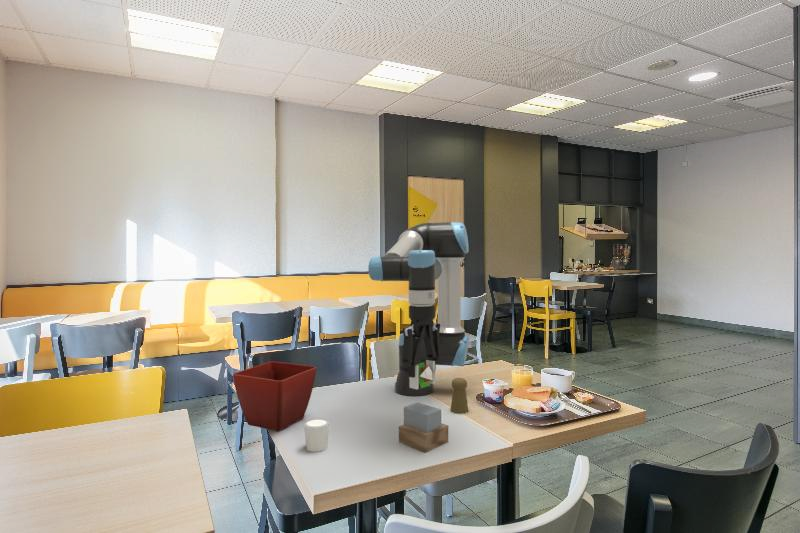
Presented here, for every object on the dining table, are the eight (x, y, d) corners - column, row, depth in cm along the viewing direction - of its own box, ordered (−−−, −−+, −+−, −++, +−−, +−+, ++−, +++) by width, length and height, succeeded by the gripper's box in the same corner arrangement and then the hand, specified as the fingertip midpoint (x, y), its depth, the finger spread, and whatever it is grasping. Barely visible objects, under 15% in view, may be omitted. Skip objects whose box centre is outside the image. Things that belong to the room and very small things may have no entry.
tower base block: (422, 433, 144) (421, 417, 144) (448, 442, 137) (448, 425, 137) (398, 443, 137) (398, 426, 137) (425, 453, 130) (425, 435, 130)
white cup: (302, 444, 136) (302, 420, 135) (326, 441, 138) (326, 417, 138) (306, 454, 129) (306, 428, 129) (331, 450, 132) (331, 425, 131)
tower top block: (418, 419, 142) (417, 402, 142) (441, 427, 136) (441, 409, 136) (403, 424, 138) (403, 407, 138) (427, 432, 132) (427, 414, 131)
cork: (471, 412, 161) (471, 379, 161) (455, 414, 159) (455, 381, 158) (462, 406, 167) (462, 375, 166) (447, 409, 165) (447, 377, 164)
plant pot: (318, 416, 158) (318, 366, 158) (281, 437, 141) (280, 380, 140) (272, 408, 166) (271, 360, 166) (231, 427, 149) (230, 374, 148)
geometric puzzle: (400, 377, 138) (413, 358, 134) (416, 372, 143) (429, 354, 139) (415, 396, 134) (428, 377, 130) (431, 391, 139) (444, 372, 135)
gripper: (408, 309, 126) (409, 396, 127) (453, 302, 140) (453, 381, 141) (388, 306, 131) (388, 390, 132) (433, 300, 145) (434, 376, 146)
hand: (422, 385), depth 136 cm, fingers closed on geometric puzzle, 6 cm apart
